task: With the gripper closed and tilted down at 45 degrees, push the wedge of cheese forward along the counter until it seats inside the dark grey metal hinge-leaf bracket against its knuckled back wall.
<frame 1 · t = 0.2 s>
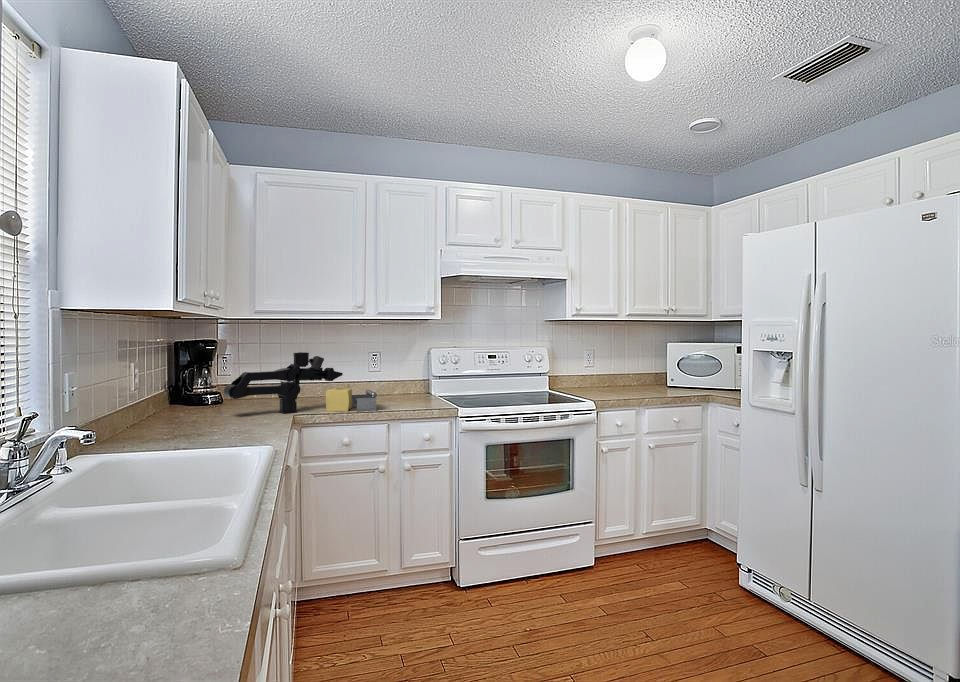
hand: (337, 373, 285), 16 cm above the countertop, tool horizontal, fingers open, 9 cm apart
leaf bracket: (357, 409, 281), on the countertop
cheese: (339, 410, 278), on the countertop
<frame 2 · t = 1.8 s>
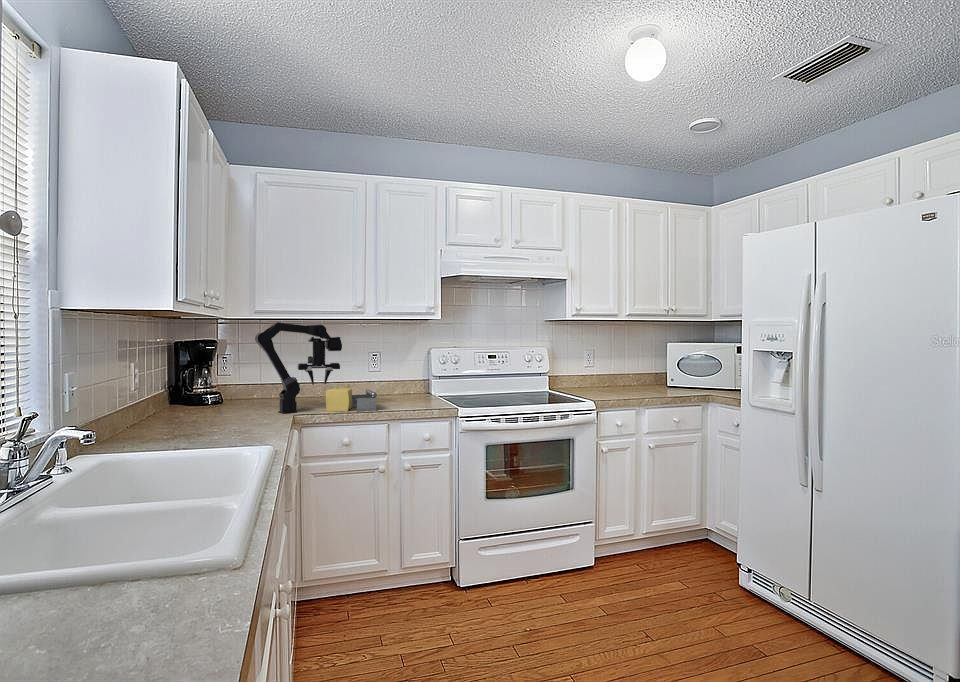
hand: (319, 384, 276), 12 cm above the countertop, tool pointing down, fingers open, 5 cm apart
nothing on the countertop moved.
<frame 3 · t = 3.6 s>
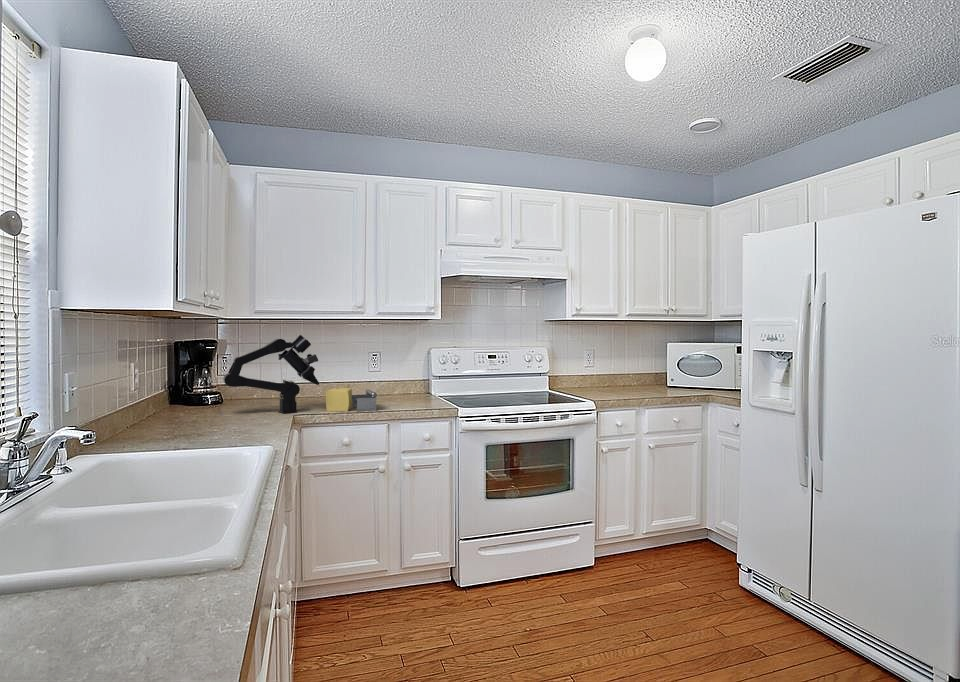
hand: (318, 384, 274), 12 cm above the countertop, tool tilted 45°, fingers closed
nothing on the countertop moved.
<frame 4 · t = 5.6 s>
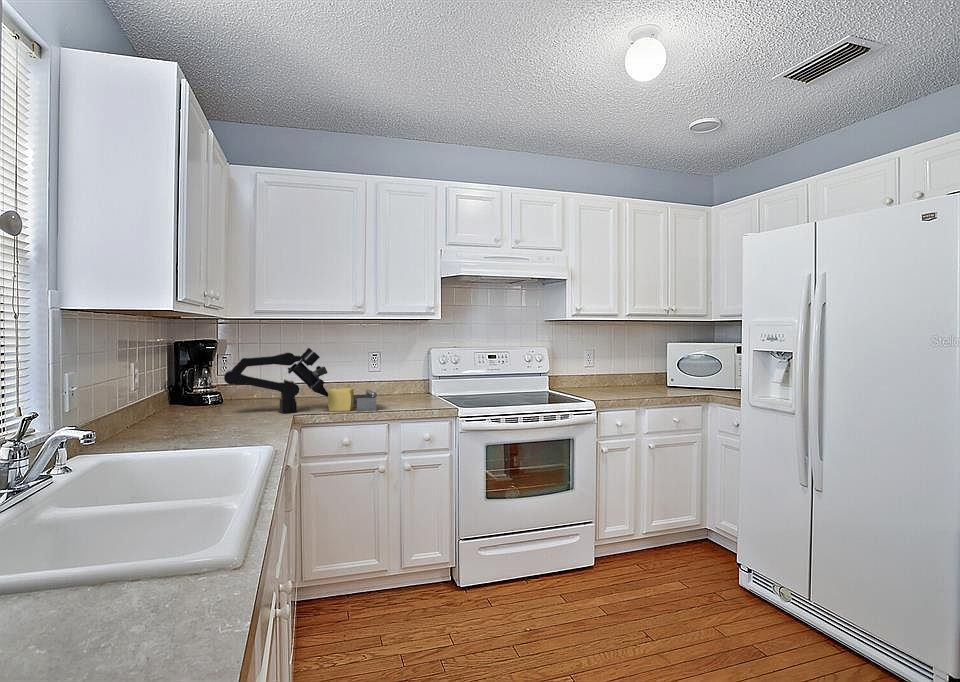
hand: (328, 396, 276), 7 cm above the countertop, tool tilted 45°, fingers closed
cheese: (341, 410, 278), on the countertop, touching gripper
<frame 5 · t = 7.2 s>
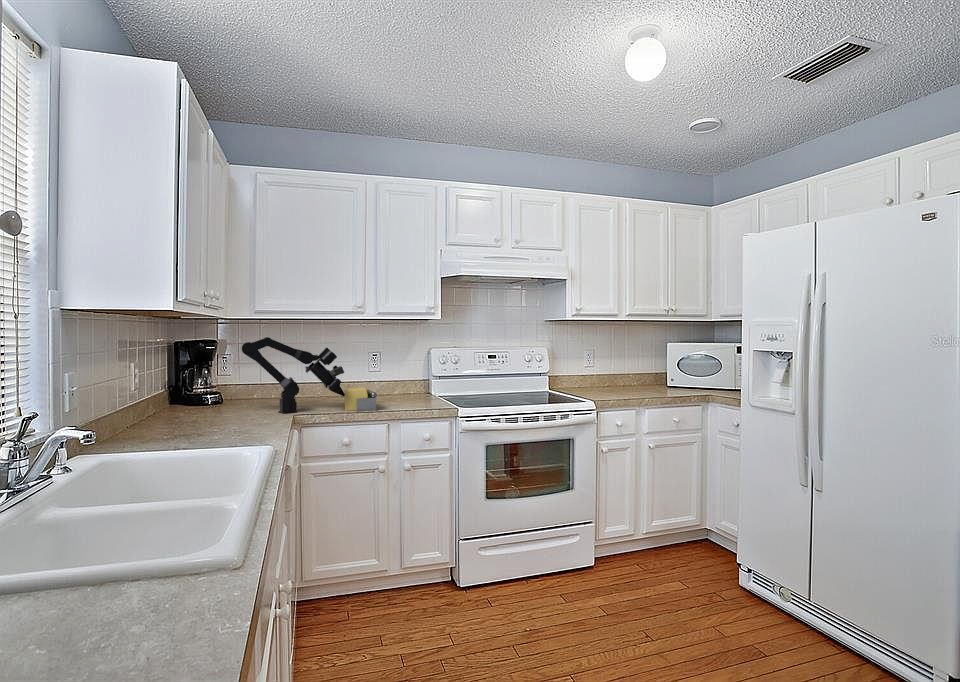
hand: (344, 395, 278), 7 cm above the countertop, tool tilted 45°, fingers closed, pressing on cheese
cheese: (356, 409, 280), on the countertop, touching gripper, leaf bracket
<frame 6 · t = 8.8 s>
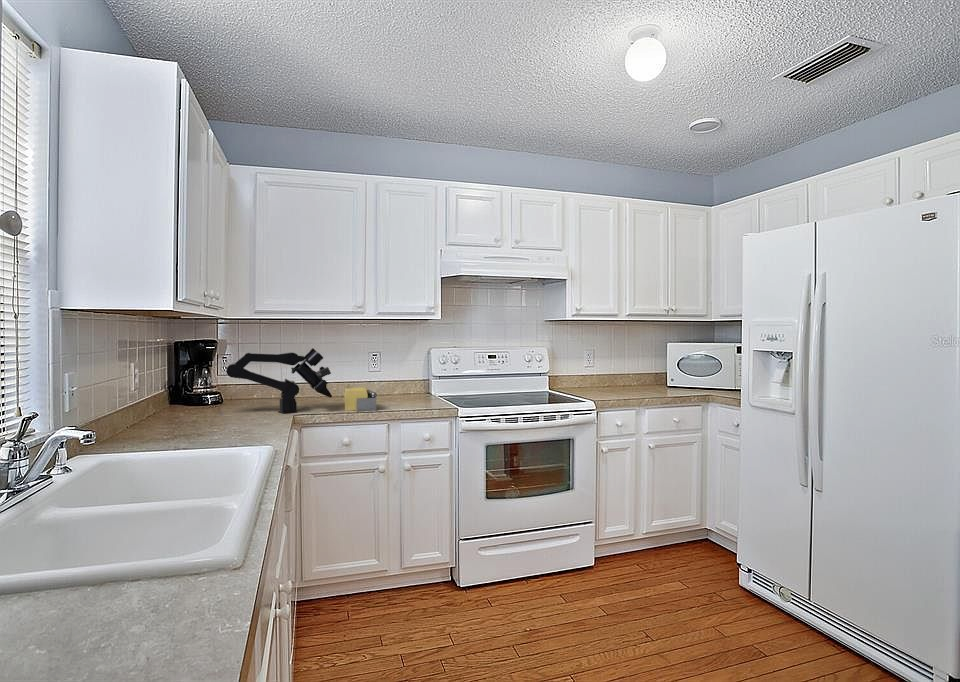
hand: (331, 396, 276), 6 cm above the countertop, tool tilted 45°, fingers closed
cheese: (356, 409, 280), on the countertop
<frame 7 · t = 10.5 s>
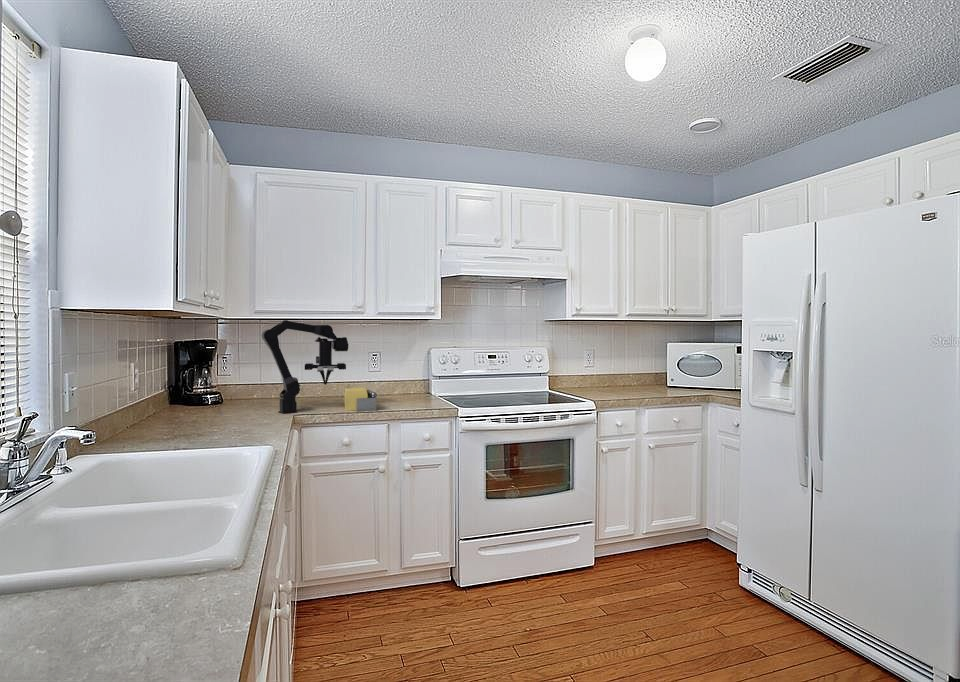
hand: (325, 384, 277), 12 cm above the countertop, tool pointing down, fingers closed
nothing on the countertop moved.
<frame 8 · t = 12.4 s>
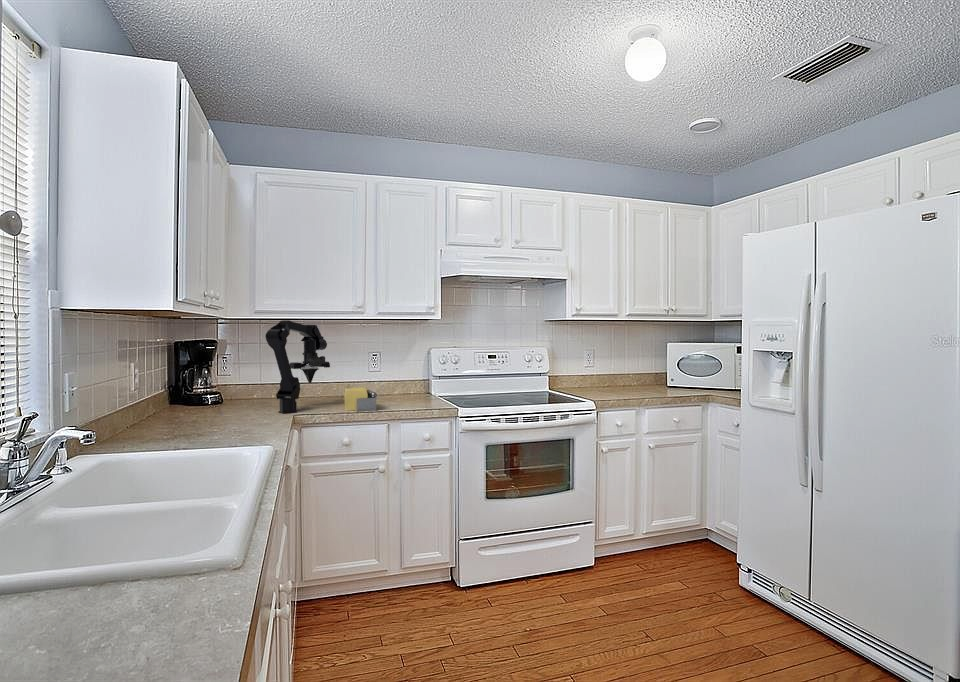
hand: (309, 382, 284), 12 cm above the countertop, tool pointing down, fingers closed
nothing on the countertop moved.
at the end: cheese 0.7 cm from the leaf bracket (horizontally); cheese tilted 0°; the gripper is holding nothing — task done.
